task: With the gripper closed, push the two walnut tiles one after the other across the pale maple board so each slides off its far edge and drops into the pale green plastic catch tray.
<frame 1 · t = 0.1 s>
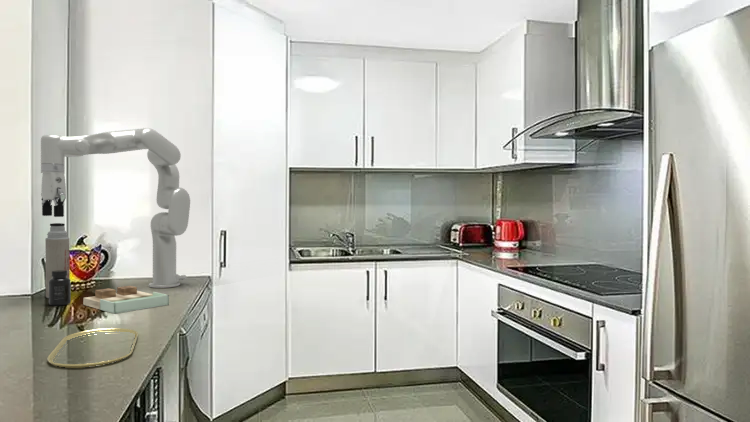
hand: (52, 216, 205), 31 cm above the table, tool pointing down, fingers open, 9 cm apart
maple board: (119, 302, 204), on the table
walnut tile 1: (126, 293, 209), point 2 cm above the table, touching maple board
supplement bottle: (59, 304, 201), on the table
catch tray: (135, 307, 198), on the table
thermos bottle: (57, 296, 215), on the table
walnut tile 2: (105, 296, 202), point 2 cm above the table, touching maple board
serving platter: (96, 351, 146), on the table
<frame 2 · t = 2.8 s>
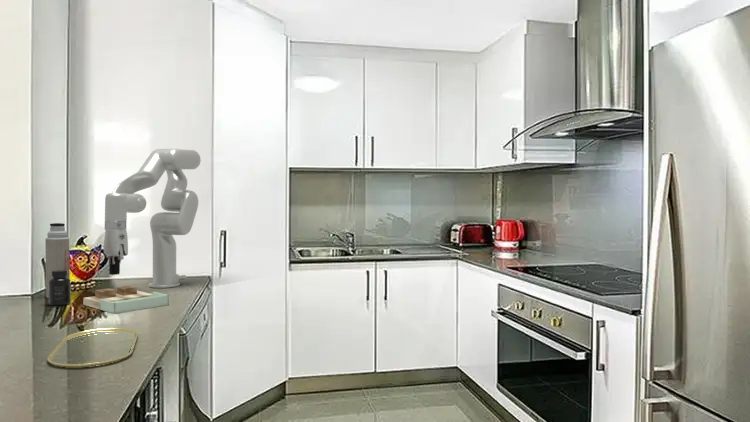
hand: (114, 274, 213), 9 cm above the table, tool pointing down, fingers closed
nothing on the table moved.
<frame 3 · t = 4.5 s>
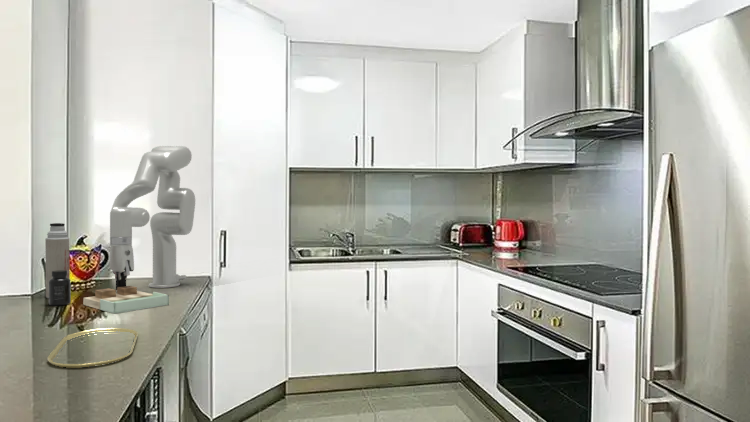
hand: (120, 289, 211), 3 cm above the table, tool pointing down, fingers closed
walnut tile 1: (127, 293, 209), point 2 cm above the table, touching gripper, maple board
everything else where it was.
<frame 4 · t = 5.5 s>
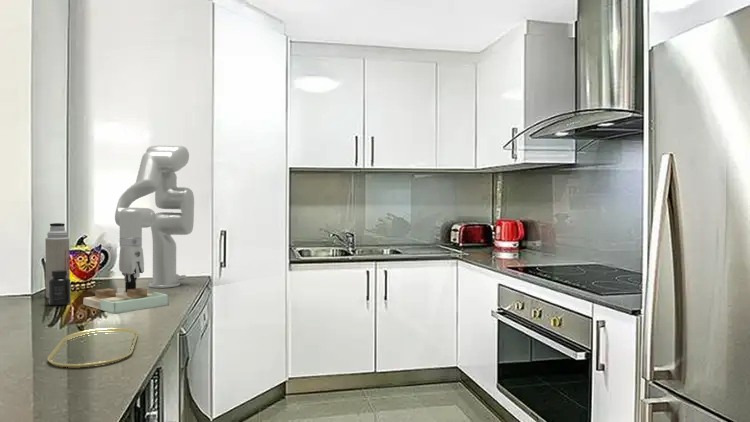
hand: (130, 292, 207), 4 cm above the table, tool pointing down, fingers closed
walnut tile 1: (137, 296, 204), point 3 cm above the table, touching gripper, maple board
everything else where it was.
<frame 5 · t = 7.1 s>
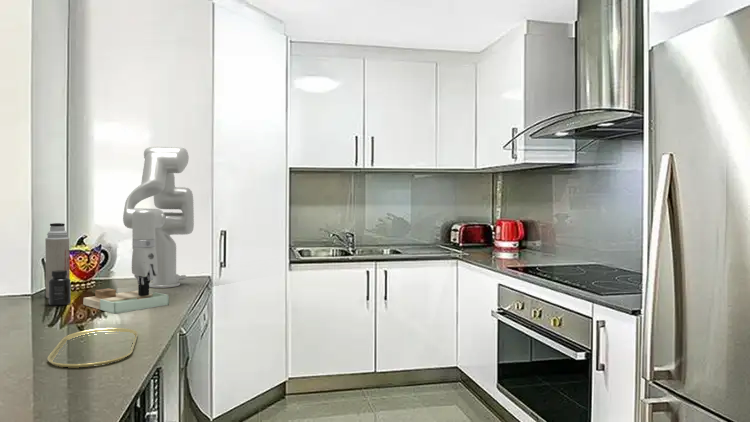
hand: (143, 295, 201), 3 cm above the table, tool pointing down, fingers closed
walnut tile 1: (147, 297, 200), point 3 cm above the table, tilted 180°, touching catch tray
everything else where it was.
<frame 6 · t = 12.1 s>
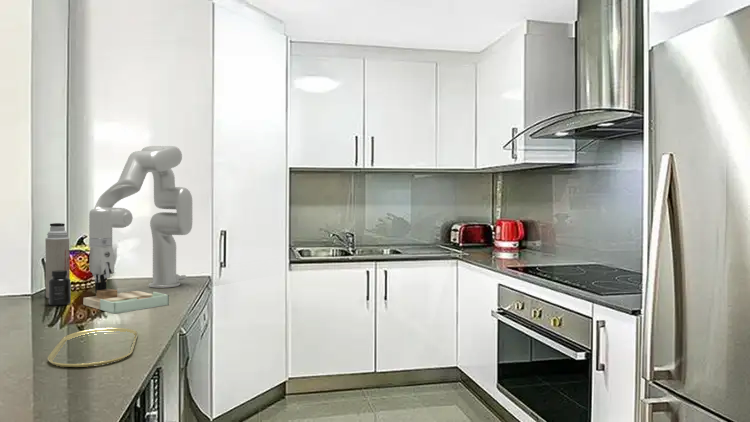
hand: (100, 293, 204), 4 cm above the table, tool pointing down, fingers closed
walnut tile 2: (106, 297, 202), point 2 cm above the table, touching gripper, maple board
everything else where it was.
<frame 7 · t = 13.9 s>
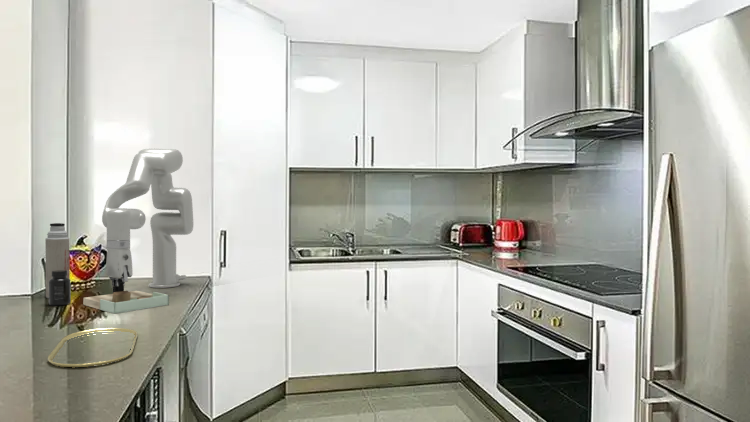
hand: (118, 297, 197), 4 cm above the table, tool pointing down, fingers closed
walnut tile 2: (119, 298, 196), point 3 cm above the table, tilted 105°, touching catch tray
everything else where it was.
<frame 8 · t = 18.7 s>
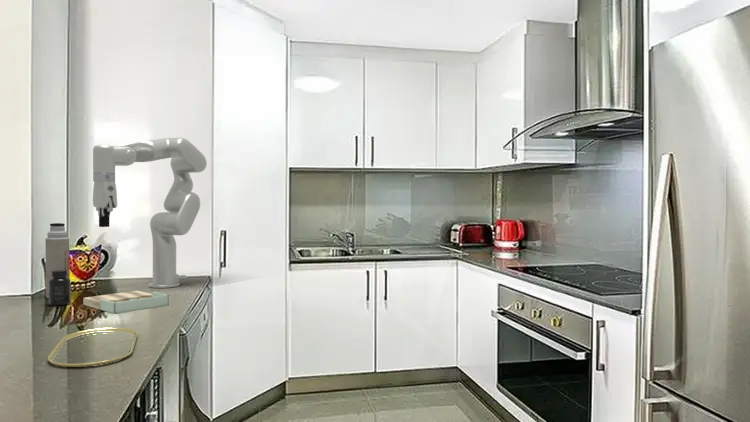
hand: (104, 226, 212), 27 cm above the table, tool pointing down, fingers closed
walnut tile 2: (124, 301, 193), point 3 cm above the table, tilted 180°, touching catch tray
everything else where it was.
at the end: walnut tile 1 inside the target area on the catch tray (3.8 cm from its centre), point 2.9 cm above the catch tray's base; walnut tile 2 inside the target area on the catch tray (4.9 cm from its centre), point 2.9 cm above the catch tray's base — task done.
